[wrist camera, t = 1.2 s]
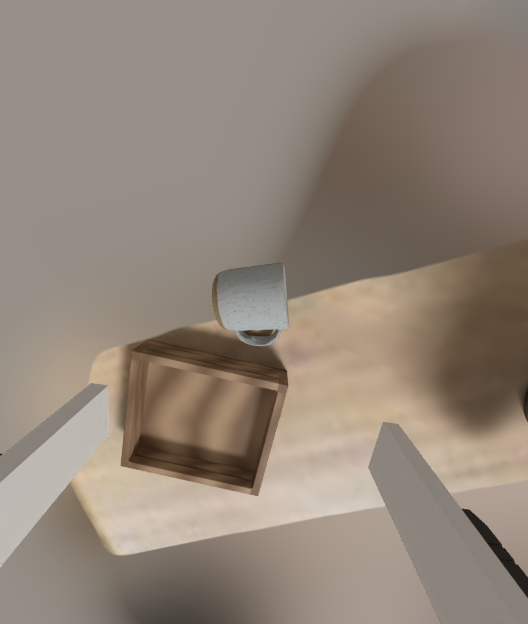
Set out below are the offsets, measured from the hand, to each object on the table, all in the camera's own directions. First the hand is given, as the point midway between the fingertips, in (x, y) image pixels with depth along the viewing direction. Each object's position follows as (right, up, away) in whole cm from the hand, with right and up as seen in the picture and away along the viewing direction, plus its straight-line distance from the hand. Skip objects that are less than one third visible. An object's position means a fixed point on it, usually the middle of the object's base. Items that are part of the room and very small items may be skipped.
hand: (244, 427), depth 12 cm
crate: (-8, -9, +25) cm, 28 cm away
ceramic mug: (0, +7, +21) cm, 22 cm away
